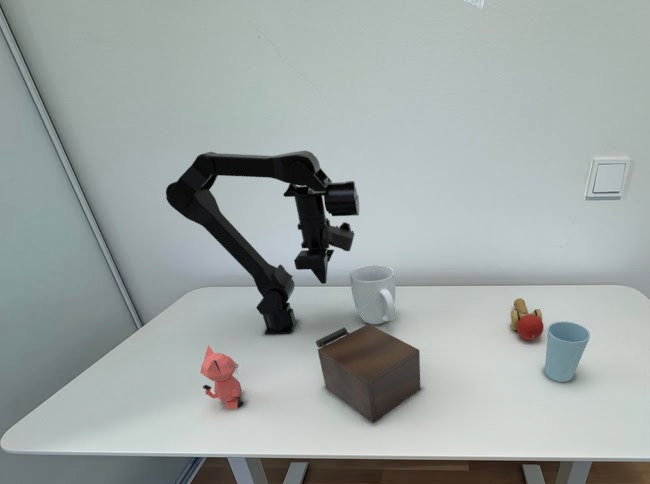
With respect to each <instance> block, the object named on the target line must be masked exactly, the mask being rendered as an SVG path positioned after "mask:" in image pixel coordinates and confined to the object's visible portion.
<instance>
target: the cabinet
mask: <svg viewBox="0 0 650 484" xmlns="http://www.w3.org/2000/svg"><path fill="white" fill-rule="evenodd" d="M318 352H319V354H318V357H320V358H319V363H320V362H321V363H320V367H322V368H321V373H322V372H323V373H322V376H324V377H323V381H324V385H325V386H324V387H325V389H326V390H328V391H329V392H331V393H332V394H333V395H335V396H336V397H337V398H338V399H340V400H341V401H342V402H344V404H346V405H347V406H349V407H350V408H352V409H353V410H354V411H356V412H357V413H358V414H360V415H361V416H363V418H365V419H366V420H368V421H369V422H371V423H372V424H374V423H375V422H377V421H378V420H380V419H381V418H383V417H384V416H386V415H387V414H388V413H390V412H391V411H393V410H394V409H395V408H396V407H398V406H399V405H401V404H402V403H403V402H405V401H406V400H408V399H409V398H410V397H412V396H413V395H414V394H416V393H417V392H419V391H420V390H421V361H420V360H421V359H420V357H421V356H420V355H421V354H420V349H419V348H416V347H415V346H413V345H411V344H409V343H407V342H405V341H403V340H401V339H399V338H397V337H395V336H393V335H392V334H390V333H388V332H386V331H384V330H382V329H380V328H378V327H376V326H374V325H373V324H368V323H366V324H365V325H363V326H361V327H359V328H357V329H355V330H353V331H351V332H349V334H347V335H344V336H342V337H341V338H339V339H337V340H335V341H333V342H331V343H329V344H327V345H325V346H323V347H321V348H319V347H318V349H317V353H318Z"/></svg>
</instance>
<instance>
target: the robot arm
mask: <svg viewBox="0 0 650 484" xmlns="http://www.w3.org/2000/svg"><path fill="white" fill-rule="evenodd" d="M219 176H223V177H243V178H244V177H245V178H246V177H247V178H249V177H250V178H267V179H274V180H278V181H280V182H283V183H286V184H288V187H287V189H286V191H285V192H284V193H283V197H284V198H292V197H293V198H294V201H295V206H296V212H297V218H298V224H297V225H296V226H297V230H298V231H300V232H301V237H302V242H300V243H301V244H300V245H301V249H303V250H300V252H299V253H298V254H297V255H296V256H295V258H294V259H293V262H294V267H295V269H296V270H298V271H303V270H304V271H305V270H310V271H311V272H312V273H313V274H314V276H315V277H316V278H317V280H318V281H319V283H320V284H321V285H325V284H327V280H328V265H329V262H330V261H331V259H332V256H333V254H334V252H335V249H330V246H331V247H334V248H338V249H340V250H343V251H344V252H350V251H351V249H352V246H353V242H354V237H355V232H354V230H352V228H351V224H350V223H348V222H345V221H344V222H342V223H341V225H339V226H338V225H331V221H330V219H329V217H326V213H328V214H329V215H331V217H352V216H353V217H354V216H357V217H358V216H360V198H359V195H358V191H357V188H356V182H355V181H354V180H348V181H344V182H343V181H342V182H340V181H339V182H333V181H332V180H331V178H330V177H329V176H328V175H327V173H326V172H325V171H324V170H323V169H322V168H321V165H320V161H319V160H318V158H317V156H316V155H314V153H313V152H311V151H308V150H299V151H292V152H291V151H290V152H286V153H280V154H275V155H262V154H260V155H259V154H239V153H238V154H237V153H217V152H214V151H207V152H204V153H200V154H198V155H197V156H196V158H195V159H194V161H193V163H191V165H190V166H189V167H188V169H186V170H185V171H184V172H183V173H182V175H181V176H179V178H178V179H177V181H173V182H171V183H170V184H168V186H167V187H166V190H165V195H166V197H165V199H166V201H167V203H168V204H169V206H170V207H172V209H174V210H175V211H176V212H178V213H179V214H181V216H183V217H184V218H186V219H187V220H189V221H191V222H193V223H196V224H198V225H200V226H201V227H203V228H204V229H205V230H206V231H207V233H208V234H210V235H211V236H212V237H213V238H214V239H215V240H216V241H217V242H218V244H219V245H221V246H222V247H223V249H224V250H226V251H227V253H229V255H230V256H231V257H232V258H233V259H234V260H235V261H236V262H237V263H239V265H240V266H241V267H242V268H243V269H244V270H245V271H246V272H247V273H248V274H249V275H250V276H251V278H252V279H253V281H254V283H255V286H256V289H257V291H258V293H259V294H260V295H261V296H262V298H261V300H260V301H259V303H258V304H257V306H256V307H255V308H256V310H257V311H258V313H259V314H260V315H262V318H263V321H264V324H265V328H266V329H264V334H265V335H270V334H271V335H277V334H279V335H280V334H290V333H292V331H293V329H294V327H295V325H296V324H297V319H296V315H295V311H294V309H293V308H291V303H290V302H289V300H290V298H291V297H292V295H293V293H294V290H295V282H294V280H293V277H294V276H293V274H290V273H289V272H288V271H287V270H286V269H285V267H284V266H283V265H282V264H279V265H278V266H275V265H272V264H270V263H268V261H267V260H266V259H265V258H264V257H263V256H262V255H261V254H260V253H259V251H257V250H256V249H255V247H253V246H252V244H251V243H250V242H249V241H248V240H247V239H246V238H245V237H244V236H243V234H241V232H240V231H239V230H238V229H237V228H236V227H235V226H234V225H233V224H232V223H231V222H230V221H229V220H228V218H226V216H225V215H224V214H223V212H221V210H220V207H219V204H218V202H217V199H216V197H215V196H214V195H213V193H212V191H211V189H212V187H213V186H214V184H215V183H216V181H217V178H218V177H219ZM304 249H307V250H304Z"/></svg>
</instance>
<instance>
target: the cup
mask: <svg viewBox="0 0 650 484" xmlns="http://www.w3.org/2000/svg"><path fill="white" fill-rule="evenodd" d="M546 334H547V335H546V338H547V339H546V351H545V366H544V367H545V368H544V373H545V375H546V377H547V378H548V379H550V380H552V381H555V382H558V383H567V382H569V381H571V380H572V379H573V378H574V375H575V373H576V371H577V368H578V366H579V364H580V361H581V359H582V357H583V354H584V352H585V350H586V347H587V345H588V343H589V340H590V338H591V332H590V331H589V330H588V329H587V328H586V327H585V326H583V325H580V324H579V323H576V322H571V321H556V322H553V323H551V324H550V325H548V327H547V333H546Z"/></svg>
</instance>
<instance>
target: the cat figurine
mask: <svg viewBox="0 0 650 484" xmlns="http://www.w3.org/2000/svg"><path fill="white" fill-rule="evenodd" d="M238 367H239V363H237V362H235V360H234V359H233V358H232V357H230V356H228V355H227V354H224V353H221V352H216V353H215V352H214V351H213V350H212V348H211V346H210V344H207V348H206V351H205V355H204V358H203V361H202V364H201V367H200V374H202V376H204V377H205V378H207V379H209V380H210V381H211V382H214V392H212V391H211V390H212V389H213V387H212V386H210V385H208V384H205V385H203V386H202V388H203V389H204V393H205V395H207V396H208V397H210V398H212V399H218V400H220V401H221V402H222V403H224V404H225V406H224V409H228V410H234V409H235V410H236V409H237V410H238V409H240V408H241V407H242V406H244V401H242V400H240V399H238V398H239V397H241V395H242V386H241V381H239V380H238V378H236V377H235V375H236V374H237V373H238V372H239V371H238Z"/></svg>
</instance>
